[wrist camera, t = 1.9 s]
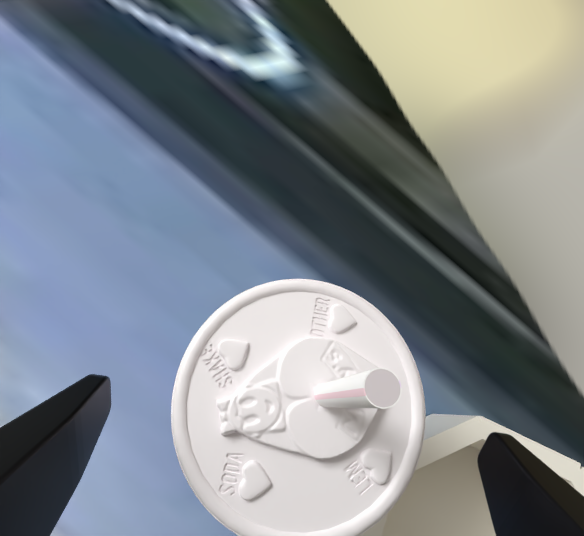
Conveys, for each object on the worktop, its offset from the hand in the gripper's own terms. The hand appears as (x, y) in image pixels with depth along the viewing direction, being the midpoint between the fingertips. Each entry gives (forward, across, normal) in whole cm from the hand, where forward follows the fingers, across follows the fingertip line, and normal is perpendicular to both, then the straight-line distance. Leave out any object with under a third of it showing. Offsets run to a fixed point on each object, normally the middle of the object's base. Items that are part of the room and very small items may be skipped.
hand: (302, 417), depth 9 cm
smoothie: (+7, 0, +7) cm, 10 cm away
